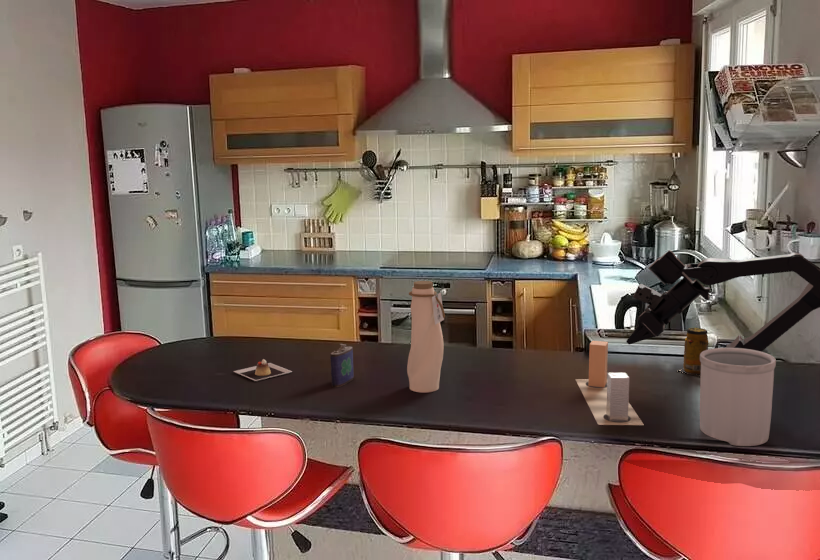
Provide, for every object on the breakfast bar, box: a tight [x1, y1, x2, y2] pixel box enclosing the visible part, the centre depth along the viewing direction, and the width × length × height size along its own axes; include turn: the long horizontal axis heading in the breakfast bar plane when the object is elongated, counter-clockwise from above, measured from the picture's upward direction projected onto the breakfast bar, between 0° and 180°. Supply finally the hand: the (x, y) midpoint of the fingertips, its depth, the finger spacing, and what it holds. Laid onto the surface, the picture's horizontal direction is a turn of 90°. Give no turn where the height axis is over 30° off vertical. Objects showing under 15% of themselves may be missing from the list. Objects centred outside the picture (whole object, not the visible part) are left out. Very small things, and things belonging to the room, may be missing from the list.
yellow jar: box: [678, 327, 709, 378], centre depth 204 cm, size 7×8×12 cm
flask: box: [329, 343, 355, 388], centre depth 199 cm, size 9×3×11 cm, turn 152°
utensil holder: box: [699, 347, 777, 447], centre depth 159 cm, size 15×15×18 cm
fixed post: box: [606, 372, 630, 421], centre depth 168 cm, size 4×4×10 cm
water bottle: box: [406, 280, 446, 394], centre depth 192 cm, size 10×9×28 cm
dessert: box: [233, 358, 293, 382], centre depth 209 cm, size 12×12×5 cm
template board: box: [575, 378, 644, 426], centre depth 181 cm, size 33×10×1 cm, turn 176°
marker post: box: [588, 340, 609, 387], centre depth 192 cm, size 4×4×11 cm
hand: (630, 339), depth 188 cm, fingers open, 9 cm apart
